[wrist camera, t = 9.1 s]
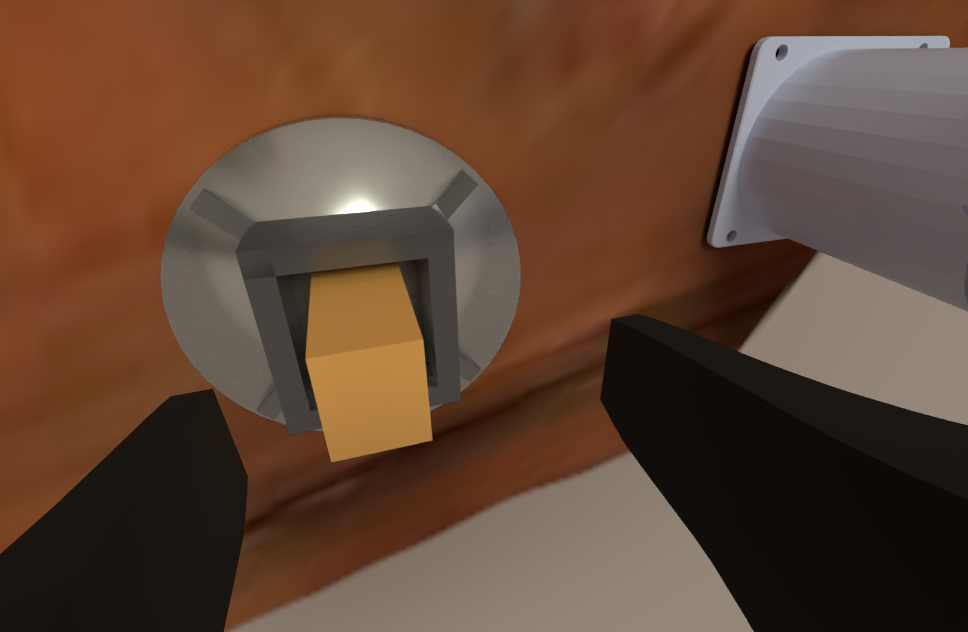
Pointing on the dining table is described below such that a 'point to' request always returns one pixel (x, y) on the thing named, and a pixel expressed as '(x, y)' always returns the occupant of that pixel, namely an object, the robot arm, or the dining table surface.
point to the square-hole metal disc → (334, 256)
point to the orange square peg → (366, 361)
